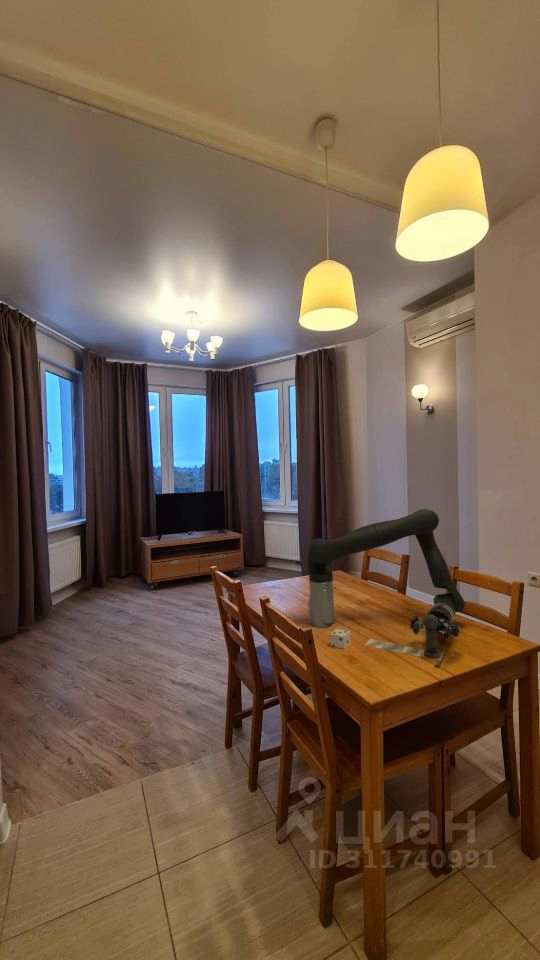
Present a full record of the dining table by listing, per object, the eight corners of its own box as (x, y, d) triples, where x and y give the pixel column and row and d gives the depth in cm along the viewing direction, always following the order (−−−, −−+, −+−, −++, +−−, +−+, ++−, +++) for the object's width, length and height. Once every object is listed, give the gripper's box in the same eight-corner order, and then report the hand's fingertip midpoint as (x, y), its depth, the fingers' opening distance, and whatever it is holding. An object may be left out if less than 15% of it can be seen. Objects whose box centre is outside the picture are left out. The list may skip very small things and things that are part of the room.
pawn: (422, 656, 120) (420, 615, 120) (425, 650, 124) (423, 610, 124) (438, 659, 117) (436, 618, 117) (442, 653, 121) (440, 613, 121)
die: (330, 648, 130) (329, 633, 130) (336, 643, 134) (336, 628, 134) (344, 652, 127) (344, 636, 127) (350, 646, 131) (350, 631, 131)
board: (361, 650, 127) (360, 648, 127) (372, 638, 136) (372, 636, 136) (439, 667, 114) (439, 664, 114) (446, 653, 123) (446, 650, 123)
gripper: (418, 603, 136) (405, 617, 123) (462, 609, 128) (454, 625, 115) (419, 624, 136) (406, 641, 123) (463, 631, 128) (455, 650, 115)
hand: (429, 633), depth 119 cm, fingers open, 8 cm apart
